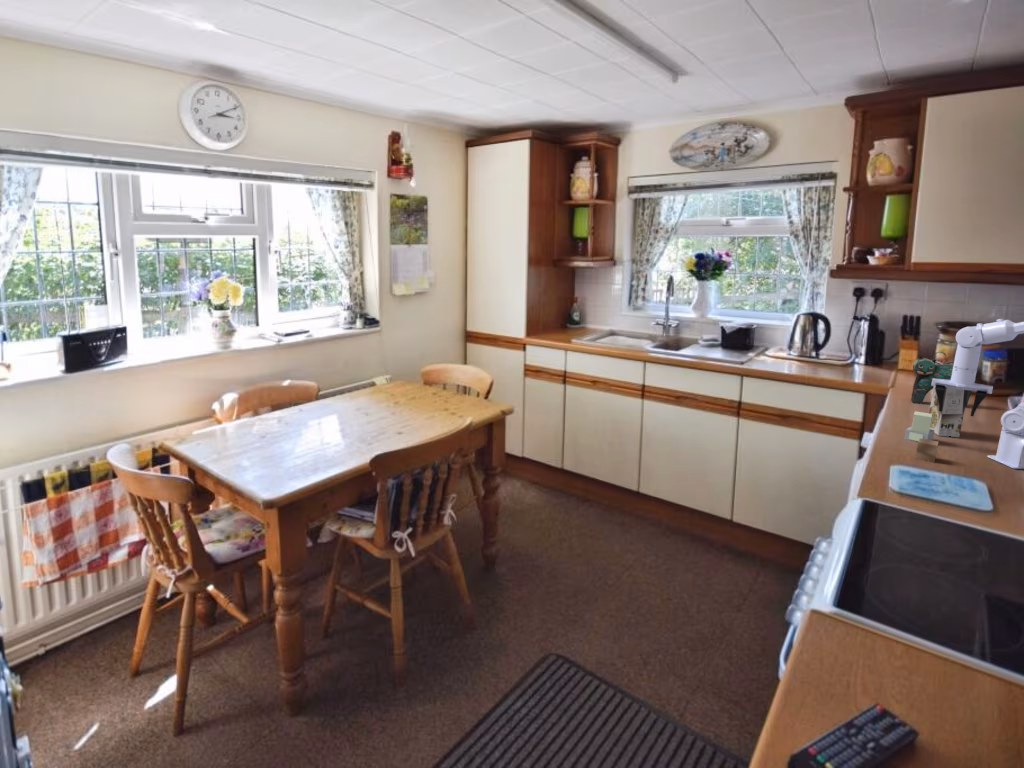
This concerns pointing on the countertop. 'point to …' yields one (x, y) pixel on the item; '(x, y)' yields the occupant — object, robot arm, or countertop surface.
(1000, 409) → the countertop surface
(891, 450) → the countertop surface
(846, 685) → the countertop surface
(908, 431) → the base block
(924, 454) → the walnut block
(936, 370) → the ceramic cat
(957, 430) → the coffee box
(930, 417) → the sage block
